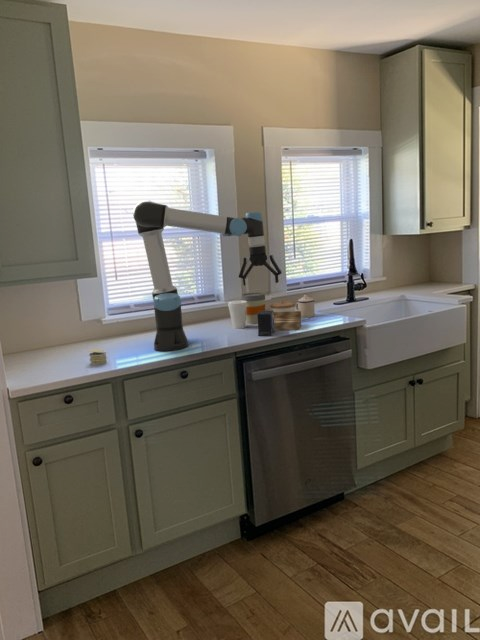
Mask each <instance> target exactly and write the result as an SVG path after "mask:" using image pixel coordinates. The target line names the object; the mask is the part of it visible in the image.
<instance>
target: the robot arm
mask: <svg viewBox="0 0 480 640" xmlns="http://www.w3.org/2000/svg"><path fill="white" fill-rule="evenodd" d="M132 212H133V213H132V215H133V219H134V221H135V224H136V228H137V233H138V235H139V236H140V237H142V239H143V241H142V242H143V245H144V249H145V254H146V258H147V262H148V267H149V271H150V277H151V280H152V283H153V285H152V286H153V291H152V292H151V295H152V301H153V309H154V318H155V326H156V328H155V329H156V333H155V337H154V342H153V347H154V348H153V349H154V350H155V351H159V352H160V351H161V352H171V351H178V350H183V349H185V348H188V347H189V340H188V337H187V335H186V333H185V329H184V325H183V314H182V313H183V312H182V300H181V296H180V295H179V292H178V288H177V286H174V285H173V280H172V276H171V275H172V274H171V272H170V267H169V261H168V257H167V254H166V248H165V244H164V239H163V231H164V229H165V228H166V227H172V228H173V227H174V228H181V229H186V230H187V229H188V230H193V231H194V230H196V231H201V232H210V233H215V234H221V235H222V236H223V237H232V236H235V237H241V236H243V235H247V238H248V239H247V240H248V246H249V247H248V250H249V257H247V256H246V257H244V258H243V263H242V265H241V269H240V271H239V275H238V278H240V279H242V284H243V286H245V292H246V293H245V294H247V293H250V288H249V279H248V277H247V276H248V275H249V274H250V272H251V271H252V269H253V268H254V267H258V266H260V267H261V266H264V267H266V268H267V269H268V270H269V272H271V274H273V277H272V278H273V287H274V291H277V290H278V286H277V285H278V283H279V281H280V280H279V275H282V273H283V272H282V269H280V267H279V266H278V264H277V261H275V258H274V255H273V254H270V255H267V249H266V246H265V244H266V242H265V241H266V239H265V231H264V221H263V214H262V212H260V211H253V212H252V211H251V212H246V213H245V216H244V217H231V216H224V215H219V214H217V215H216V214H211V213H206V212H205V213H204V212H198V211H191V210H184V209H180V208H172V207H169V206H168V205H167V204H162V203H157V202H154V201H151V200H146V199H145V200H142V201H138V202H137V204H136V205H135V206H134V208H133V211H132ZM267 260H268V261H270V262H271V264H272V265H273V266H271V265H270V264H269V263H268V261H267ZM249 261H250V262H251V263H250V265H249V267H248V268H247V269H246V267H247V264H248V262H249ZM273 267H274V268H273ZM245 270H246V271H245Z"/></svg>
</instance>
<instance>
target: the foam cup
mask: <svg viewBox="0 0 480 640" xmlns="http://www.w3.org/2000/svg"><path fill="white" fill-rule="evenodd" d="M227 303H228V304H227V305H228V307H227V308H228V311H229V315H230V321H231V323H232V324H231V325H232V328H233V329H244V328H246V325H247V323H246V308H247V301H242V300H232V301H228V302H227Z"/></svg>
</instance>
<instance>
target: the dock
mask: <svg viewBox="0 0 480 640" xmlns="http://www.w3.org/2000/svg"><path fill="white" fill-rule="evenodd" d="M273 315H274V332H278V331H299V330H300V329H301V327H302V317H301V311H297V310H295V311H286V312H273Z"/></svg>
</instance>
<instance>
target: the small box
mask: <svg viewBox="0 0 480 640" xmlns="http://www.w3.org/2000/svg"><path fill="white" fill-rule="evenodd" d="M257 318H258V324H257V334H258V335H257V336H258V337H263V336H264V337H265V336H266V337H269V336H272V335H273V334H274V333H275V331H274V315H273V310H271V309H270V310H266V309H265V310H261V311H260V312H259V313H258V314H257Z"/></svg>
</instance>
